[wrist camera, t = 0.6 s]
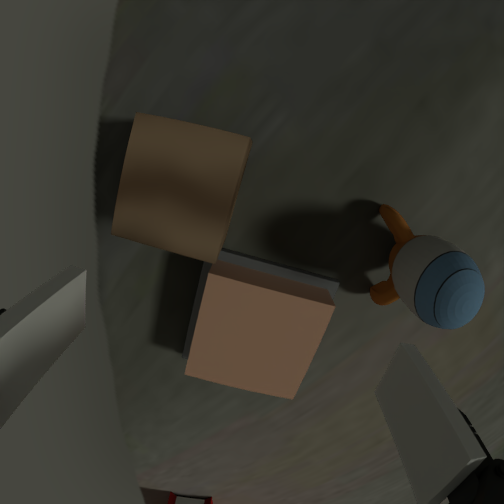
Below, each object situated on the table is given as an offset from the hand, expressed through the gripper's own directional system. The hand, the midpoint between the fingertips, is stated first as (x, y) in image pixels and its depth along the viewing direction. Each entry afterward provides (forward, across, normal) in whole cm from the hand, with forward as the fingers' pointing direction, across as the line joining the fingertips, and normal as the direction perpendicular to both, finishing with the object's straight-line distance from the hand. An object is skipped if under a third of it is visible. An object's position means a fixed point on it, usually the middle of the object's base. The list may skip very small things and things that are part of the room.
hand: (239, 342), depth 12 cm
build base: (+21, +3, -10) cm, 24 cm away
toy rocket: (+21, +15, +2) cm, 26 cm away
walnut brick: (+21, -7, +3) cm, 22 cm away
